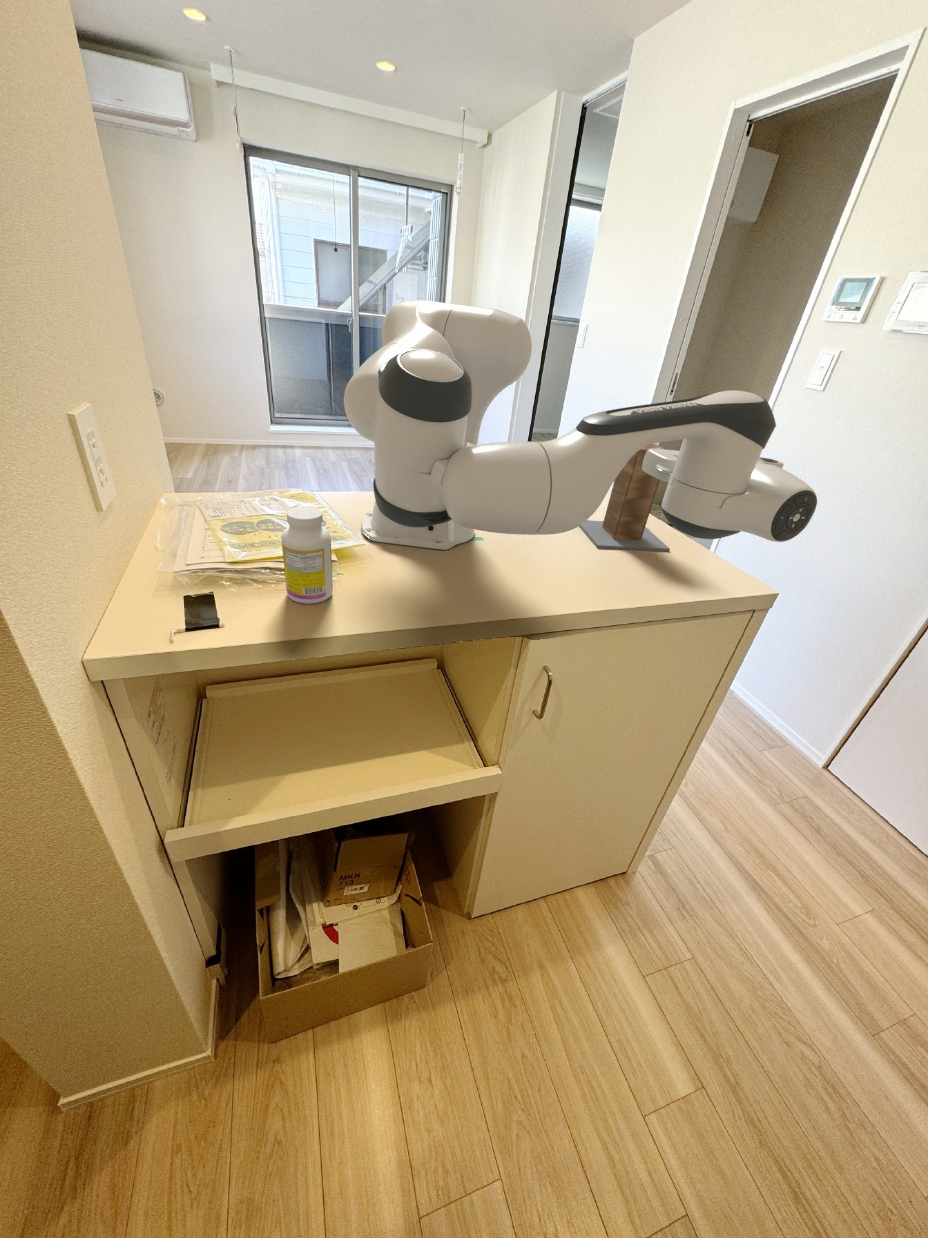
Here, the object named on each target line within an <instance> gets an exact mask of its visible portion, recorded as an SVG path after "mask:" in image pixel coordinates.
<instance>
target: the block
mask: <svg viewBox="0 0 928 1238" xmlns="http://www.w3.org/2000/svg"><path fill="white" fill-rule="evenodd" d="M651 448H653V449H657V448H661V449H664V448H663V447H662V446H660V445H658V444H657V443H652V444H649V445H646V446H644V447H643V448H641V449H640V450H639V451H637V452H636V453H635V454H634V455H633V456H632V457H631V459H630V460H629V461H628V462H627V463H626V465H625V466H624V467H623V469H622V470H621V471H620V473H619V474H618V476H617V477H616V479H615V480H614V482H613V484H612V485H613V486H612V489H611V492H610V495H609V498H608V499H609V501H608V504H607V507H606V509H605V510H606V511H605V515H604V518H603V521H604V522H603V525H602V528H603V529H604V530H605V531H606V532H607V533H608V534H609V535H610V536H611V537H612V538H613V539H625V540H641V539H642V535H643V532H644V529H645V527H646V525H647V523H648V518H649V516H650V512H651V510H652V507H653V503H654V500H655V497H656V494H657V490H658V487H659V484H660V481H661V480H659V479H657V478H655V477H653V476H651V475H649V474H647V473H646V472H644V471H643V470H642V463H643V459H644V456H645V454H646V452H647V450H649V449H651Z"/></svg>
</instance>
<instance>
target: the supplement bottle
mask: <svg viewBox="0 0 928 1238" xmlns="http://www.w3.org/2000/svg"><path fill="white" fill-rule="evenodd" d="M323 517H324V516H323V512H322V510H320V509H318V508H317V507H316V508H315V507H309V506H298V507H293V508H291V509H289V510H287V511H286V522H287V524H288V526H287V527H286V528H285V529H284V530H283V532H282V534H281V536H280V537H281V547H282V548H281V549H282V557H283V559H282V560H283V569H284V577H285V578H284V579H285V587H286V589H285V590H286V595H287V597H288V598H290V600H292V601H294V602H296V603H300V604H305V605H306V604H307V605H310V604H319V603H321V602H324V601H326V600H328V599H329V598H330V597H331V596H332V595H333V591H334V587H333V586H334V585H333V582H334V581H333V562H332V561H333V560H332V538H331V533H330V531H329V530H328V528H325V527H324V526H322V525H323V522H324V518H323Z"/></svg>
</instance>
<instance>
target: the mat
mask: <svg viewBox="0 0 928 1238" xmlns="http://www.w3.org/2000/svg"><path fill="white" fill-rule="evenodd" d="M603 522H604V520H591V519H590V520H589V519H587V520H586V521H585V522H584V523H583V524H581V525H580V526H578V528H580V529H581V531H582V532H583V533H584V534H585V535H586V537H587V538H588V539H589V540H590V542H591V543H592V544H593V545H594V546H595V547H596V548H597V549H611V550H612V549H613V550H614V549H615V550H632V551H633V550H635V551H655V552H657V551H658V552H670V549H671V548H670V547H669V546H667V544H665V543H664V542H663V541H662V540H661V539H659V537H658V536H656V535H655V534H654V533H653V532H652V531H651V530H650V529H649V528H648V527H646V526H645V529H644V532H643V535H642V539H641V540H625V539H613V538H612V537H611V536H610V535H609V534H608V533H607V532H606V531H605V530H604V529H603V528H602V525H603Z"/></svg>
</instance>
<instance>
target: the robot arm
mask: <svg viewBox="0 0 928 1238" xmlns="http://www.w3.org/2000/svg"><path fill="white" fill-rule="evenodd" d="M381 340H382V346H381V347H380V348H379V349H378V350H376V351H375V352H374V353H373V354H372V355H371V356H369V357H368V358H367V359H366V360H365V361H364V362H363V363H362V364H361V365H360V367H358V368H357V370H356V371H355V373H354V374H353V375H352V377H351V378H350V379H349V381H348V383H347V384H346V387H345V390H344V393H343V406H344V407H343V408H344V412H345V415H346V417H347V419H348V422H349V423H350V425H351V427H352V428H353V429H354V430H355V431H356V433H358V434H359V435H360V436H361V437H363V438H364V439H367V440H368V441H370V442H374V451H373V453H374V454H373V455H374V456H373V457H374V459H373V461H374V478H373V480H372V481H373V482H372V485H373V494H374V499H375V500H374V504H373V508H372V510H370V511H369V512H366V513H365V514H364V515H363V517H362V520H361V525H360V527H361V528H360V530H361V533H362V532H364V533H365V534H367V536H369V538H370V539H371V540H372V541H371V540H370V541H371V542H379V543H386V544H394V545H403V546H408V547H409V546H410V547H416V548H417V547H418V548H426V549H434V550H441V551H444V550H445V551H447V550H449V549H452V548H453V547H454V546H456V545H459V544H463V543H466V542H468V541H470V540H471V539H473V538H474V537H475V534H476V533H475V530H477V531H482V532H487V533H494V534H495V533H496V534H505V535H519V536H520V535H523V536H524V535H525V536H526V535H527V536H528V535H529V536H533V535H534V536H535V535H536V536H538V535H540V536H542V535H543V536H545V535H557V534H563V533H566V532H569V531H572V530H575V529H576V528H579V526H580V525H581V524H583V523H584V522H585V521H586V520H589V519H590V517H592V516H593V514H595V512H596V511H597V510H598V509H599V507H600V505H601V504H602V503H603V501H604V499H605V497H606V496H607V494H608V492H609V491H610V489H611V487H612V485H613V484H614V480H615V479H616V477H617V476H618V474H619V473H620V471H621V470H622V469H623V467H624V466H625V465H626V463H627V462H628V461H629V460H630V459H631V457H632V456H633V455H634V454H635V453H636V452H637V451H639V450H640V449H641V448H643V447H644V446H646V445H649V444H652V443H654V444H657V443H664V442H665V443H666V442H672V441H677V440H682V442H681V445H680V448H679V450H675V449H674V450H673V449H666V448H663V449H661V448H662V447H661V448H657V449H653V448H651V449H649V450H647V452H646V454H645V456H644V459H643V463H642V470H643V471H644V472H646V473H647V474H649V475H651V476H653V477H655V478H657V479H659V480H660V481H662V482H666V483H667V485H666V489H665V492H664V495H663V497H662V501H661V505H660V509H661V511H662V514H663V516H664V518H665V519H666V520H667V521H668V522H669V524H670V525H671V526H673V528H674V529H676V530H678V531H680V532H682V533H684V534H685V535H687V536H690V537H692V538H693V537H694V538H697V539H702V540H703V539H704V540H717V539H723V538H726V537H727V538H728V537H730V536H733V535H736V534H739V533H740V532H742V533H743V532H744V533H748V534H751V535H754V536H757V537H760V538H762V539H765V540H767V541H770V542H774V543H783V542H787V541H789V540H792V539H793V538H795V537H797V536H799V534H801V533H802V532H803V530H804V529H806V527H807V526H808V524H809V523H810V521H811V519H812V517H813V516H814V514H815V512H816V509H817V506H818V498H817V494H816V492H815V490H814V489H813V488H812V486H810V485H809V484H808V483H806V482H805V481H804V480H802V479H801V478H799V477H798V476H797V475H796V476H795V475H794V474H793V473H791V472H789V471H788V470H786V469H783V467H784V463H783V461H779V460H776V459H773V458H767V457H761V454H762V452H763V450H764V449H765V448H766V447H767V445H768V442H769V440H770V438H771V436H772V435H773V432H774V431H775V429H776V426H777V424H776V423H777V422H776V420H775V415H774V413H773V411H772V408H771V406H770V404H769V402H768V401H767V399H766V398H765V397H762V396H759V395H757V394H755V393H753V392H748V391H744V390H733V389H732V390H723V391H718V392H714V393H713V392H712V393H707V394H703V395H699V396H695V397H692V398H691V397H690V398H687V399H680V400H671V401H664V402H663V401H662V402H657V403H648V404H641V405H634V406H628V407H620V408H615V409H614V408H613V409H608V410H604V411H600V412H599V411H598V412H596V413H592V414H589V415H587V416H583V418H582V419H581V420H580V422H579V423H577V425H576V427H575V428H573V429H571V430H570V431H569V432H567V433H566V434H563V435H562V436H560V437H556V438H554V439H550V440H545V441H525V440H524V441H522V440H521V441H502V442H501V441H499V442H491V443H489V442H488V443H482V444H481V443H480V444H478V441H479V436H480V435H479V434H480V431H481V426H482V421H483V419H484V417H485V413H486V412H487V410H488V408H489V407H490V404H491V403H492V402H493V401H494V399H496V397H497V396H498V395H499V394H500V393H501V392H503V390H504V389H506V388H507V387H509V386H511V385H512V384H514V383H515V382H516V381H518V379H520V378H521V377H522V375H523V374H524V373H525V371H526V369H527V367H528V366H529V363H530V361H531V357H532V349H533V347H532V345H533V344H532V337H531V333H530V330H529V327H528V325H527V323H526V321H524V319H523V318H521V317H518V316H516V315H513V314H511V313H510V312H509V313H508V312H506V311H502V310H501V309H500V310H499V309H496V308H489V307H481V306H473V305H467V304H466V305H465V304H458V303H457V304H456V303H450V302H449V303H448V302H442V301H440V302H439V301H432V300H425V299H423V300H422V299H421V300H409V301H403V302H402V301H401V302H397V303H394V304H393V305H391V306H390V308H389V310H387V313H386V315H385V317H384V320H383V323H382V327H381Z"/></svg>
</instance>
